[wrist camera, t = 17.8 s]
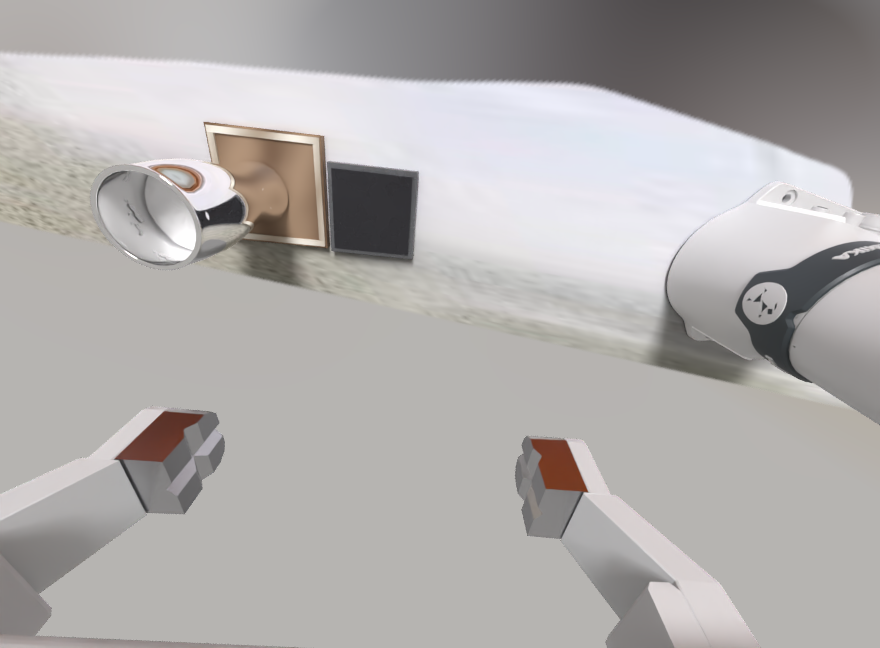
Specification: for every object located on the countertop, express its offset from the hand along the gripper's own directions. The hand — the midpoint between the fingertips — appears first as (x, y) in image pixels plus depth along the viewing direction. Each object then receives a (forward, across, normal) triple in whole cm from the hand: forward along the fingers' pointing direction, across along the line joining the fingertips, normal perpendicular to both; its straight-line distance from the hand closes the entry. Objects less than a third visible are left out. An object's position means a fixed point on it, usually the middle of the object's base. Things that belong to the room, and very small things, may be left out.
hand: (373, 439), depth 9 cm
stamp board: (+31, +16, -1) cm, 35 cm away
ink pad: (+31, +5, 0) cm, 32 cm away
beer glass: (+30, +17, -1) cm, 35 cm away
